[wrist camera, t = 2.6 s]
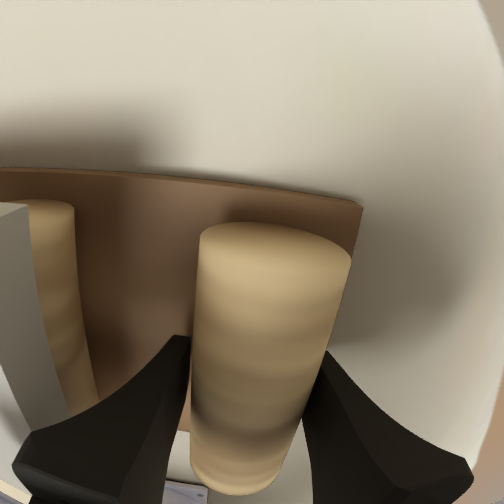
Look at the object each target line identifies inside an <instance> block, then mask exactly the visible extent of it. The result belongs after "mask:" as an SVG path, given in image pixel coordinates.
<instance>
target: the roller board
mask: <svg viewBox="0 0 504 504" xmlns="http://www.w3.org/2000/svg"><path fill="white" fill-rule="evenodd" d="M0 202H4V203H16V204H27V205H28V211H29V227H30V239H31V249H32V258H33V265H34V273H35V279H36V286H37V292H38V297H39V303H40V308H41V313H42V318H43V323H44V327H45V331H46V336H47V340H48V344H49V348H50V351H51V355H52V359H53V362H54V366H55V369H56V373H57V376H58V379H59V382H60V386H61V389H62V392H63V395H64V398H65V401H66V403H67V406H68V409H69V412H70V414H71V417H73V416H75V415H77V414H79V413H81V412H83V411H85V410H87V409H89V408H91V407H92V406H94V405H96V404H97V403H99V402H101V401H102V400H104V399H105V398H107V397H108V396H110V395H111V394H113V393H114V392H115V391H117V390H118V389H119V388H121V387H122V386H123V385H124V384H126V383H127V382H128V381H129V380H130V379H131V378H133V377H134V376H135V375H136V374H137V373H138V372H139V371H140V370H141V369H142V368H143V367H144V366H145V365H146V364H147V363H148V362H149V361H150V360H151V359H152V358H153V357H154V356H155V355H156V354H157V353H158V352H159V351H160V350H161V348H162V347H163V346H164V345H165V344H166V342H167V341H168V340H169V339H170V337H171V336H173V335H174V334H176V335H182V336H189V337H191V351H190V379H189V384H188V390H187V396H186V401H185V405H184V408H183V411H182V415H181V418H180V422H179V425H178V428H177V430H179V431H186V432H190V404H191V371H192V348H193V328H194V311H195V295H196V281H197V268H198V255H199V244H200V235H201V233H202V232H203V231H204V230H206V229H207V228H209V227H212V226H215V225H218V224H223V223H231V222H259V223H268V224H276V225H282V226H287V227H292V228H296V229H300V230H303V231H307V232H310V233H313V234H316V235H318V236H321V237H323V238H325V239H328V240H330V241H332V242H334V243H335V244H337V245H338V246H340V247H341V248H343V249H344V250H345V251H346V252H347V253H348V255H349V256H350V258H352V254H353V250H354V246H355V242H356V237H357V233H358V229H359V225H360V220H361V216H362V211H363V207H361V206H360V205H358V204H357V203H355V202H354V201H348V200H343V199H337V198H331V197H326V196H320V195H314V194H307V193H301V192H295V191H288V190H282V189H275V188H268V187H261V186H254V185H246V184H239V183H231V182H222V181H214V180H205V179H196V178H187V177H177V176H166V175H155V174H143V173H130V172H116V171H100V170H81V169H57V168H0Z"/></svg>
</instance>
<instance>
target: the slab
mask: <svg viewBox="0 0 504 504" xmlns="http://www.w3.org/2000/svg"><path fill="white" fill-rule="evenodd" d="M69 418H71V414H70V412H69V409H68V406H67V403H66V401H65V398H64V395H63V392H62V389H61V386H60V382H59V379H58V376H57V373H56V369H55V366H54V362H53V359H52V355H51V351H50V348H49V344H48V340H47V336H46V331H45V327H44V323H43V318H42V313H41V308H40V303H39V297H38V292H37V286H36V279H35V273H34V265H33V258H32V249H31V239H30V227H29V211H28V205H27V204H16V203H4V202H0V479H1V480H3V481H4V482H6V483H8V484H10V485H12V486H14V487H15V488H17V489H19V490H21V491H23V492H25V493H27V494H29V495H31V496H32V494H31V493H30V492H29V491H28V490H27V489H26V487H25V486H24V485H23V484H22V483H21V482H20V480H19V479H18V478H17V477H16V475H15V474H14V472H13V469H12V463H13V461H14V459H15V457H16V455H17V453H18V451H19V449H20V448H21V446H22V444H23V442H24V441H25V439H26V438H27V437H28V435H29V434H30V432H32V431H36V430H39V429H42V428H45V427H48V426H51V425H54V424H57V423H59V422H62V421H64V420H67V419H69Z"/></svg>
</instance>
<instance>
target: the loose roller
mask: <svg viewBox="0 0 504 504" xmlns="http://www.w3.org/2000/svg"><path fill="white" fill-rule="evenodd" d="M350 266H351V258H350V256H349V255H348V253H347V252H346V251H345V250H344V249H343V248H341V247H340V246H338V245H337V244H335V243H334V242H332V241H330V240H328V239H325V238H323V237H321V236H318V235H316V234H313V233H310V232H307V231H303V230H300V229H296V228H292V227H287V226H282V225H276V224H268V223H259V222H231V223H223V224H218V225H215V226H212V227H209V228H207V229H206V230H204V231H203V232H202V233H201V235H200V244H199V255H198V268H197V281H196V295H195V311H194V328H193V348H192V371H191V404H190V463H191V467H192V470H193V471H194V473H195V475H196V476H197V477H198V479H199V480H200V481H201V482H202V483H204V484H205V485H206V486H208V487H209V488H211V489H213V490H215V491H217V492H220V493H223V494H228V495H236V496H238V495H249V494H253V493H256V492H259V491H261V490H263V489H265V488H266V487H267V486H269V485H270V484H271V483H272V482H273V481H274V480H275V478H276V477H277V475H278V472H279V470H280V468H281V466H282V463H283V461H284V459H285V456H286V454H287V452H288V449H289V447H290V445H291V442H292V440H293V437H294V435H295V433H296V430H297V428H298V425H299V423H300V420H301V417H302V415H303V412H304V410H305V407H306V404H307V402H308V399H309V396H310V394H311V391H312V388H313V385H314V383H315V380H316V377H317V374H318V371H319V368H320V365H321V363H322V360H323V357H324V354H325V351H326V348H327V345H328V341H329V338H330V335H331V332H332V329H333V326H334V322H335V319H336V316H337V312H338V309H339V306H340V302H341V299H342V295H343V292H344V288H345V285H346V281H347V277H348V274H349V270H350Z"/></svg>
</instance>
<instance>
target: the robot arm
mask: <svg viewBox="0 0 504 504" xmlns="http://www.w3.org/2000/svg"><path fill="white" fill-rule="evenodd" d="M190 351H191V337H189V336H182V335H176V334H174V335H173V336H171V337H170V339H169V340H168V341H167V342H166V344H165V345H164V346H163V347H162V348H161V350H160V351H159V352H158V353H157V354H156V355H155V356H154V357H153V358H152V359H151V360H150V361H149V362H148V363H147V364H146V365H145V366H144V367H143V368H142V369H141V370H140V371H139V372H138V373H137V374H136V375H135V376H134V377H133V378H131V379H130V380H129V381H128V382H127V383H126V384H124V385H123V386H122V387H121V388H119V389H118V390H117V391H115V392H114V393H113V394H111V395H110V396H108V397H107V398H105V399H104V400H102V401H101V402H99V403H97V404H96V405H94V406H92V407H91V408H89V409H87V410H85V411H83V412H81V413H79V414H77V415H75V416H73V417H71V418H69V419H67V420H64V421H62V422H59V423H57V424H54V425H51V426H48V427H45V428H42V429H39V430H36V431H32V432H30V434H29V435H28V437H27V438H26V439H25V441H24V442H23V444H22V446H21V448H20V449H19V451H18V453H17V455H16V457H15V459H14V461H13V463H12V469H13V472H14V474H15V475H16V477H17V478H18V479H19V480H20V482H21V483H22V484H23V485H24V486H25V487H26V489H27V490H28V491H29V492H30V493H31V494H32V497H31V499H30V502H29V504H207V493H208V489H207V488H206V487H204V486H198V485H191V484H184V483H178V482H172V481H166V474H167V467H168V462H169V457H170V452H171V448H172V445H173V442H174V438H175V435H176V432H177V428H178V425H179V422H180V418H181V415H182V411H183V408H184V405H185V401H186V396H187V390H188V384H189V379H190ZM302 422H303V427H304V432H305V437H306V442H307V447H308V452H309V457H310V463H311V471H312V486H313V504H452V503H453V502H454V501H456V500H457V499H458V498H459V497H460V496H461V495H462V494H464V493H465V492H466V491H467V490H468V488H470V486H471V485H472V483H473V481H474V476H473V474H472V472H471V470H470V468H469V466H468V464H467V462H466V460H465V458H463V457H460V456H458V455H455V454H453V453H450V452H448V451H445V450H443V449H441V448H439V447H437V446H435V445H433V444H431V443H429V442H427V441H425V440H423V439H422V438H420V437H418V436H417V435H415V434H413V433H412V432H410V431H409V430H407V429H406V428H404V427H403V426H402V425H400V424H399V423H397V422H396V421H395V420H394V419H392V418H391V417H390V416H389V415H387V414H386V413H385V412H384V411H383V410H381V409H380V408H379V407H378V406H377V405H376V404H375V403H374V402H373V401H372V400H371V399H370V398H369V397H368V396H367V395H366V394H365V393H364V392H363V391H362V390H361V389H360V388H359V387H358V386H357V385H356V384H355V383H354V381H353V380H352V379H351V378H350V377H349V376H348V374H347V373H346V372H345V371H344V370H343V369H342V367H341V366H340V365H339V364H338V363H337V361H336V360H335V359H334V358H333V356H332V355H331V354H330V353H329V352H328V351H325V354H324V357H323V360H322V363H321V365H320V368H319V371H318V374H317V377H316V380H315V383H314V385H313V388H312V391H311V394H310V396H309V399H308V402H307V404H306V407H305V410H304V412H303V415H302ZM0 504H23V503H21V502H19V501H17V500H15V499H13V498H11V497H10V496H8V495H6V494H4V493H3V492H1V491H0ZM492 504H504V497H503V498H501V499H499V500H497V501H495V502H494V503H492Z"/></svg>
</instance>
